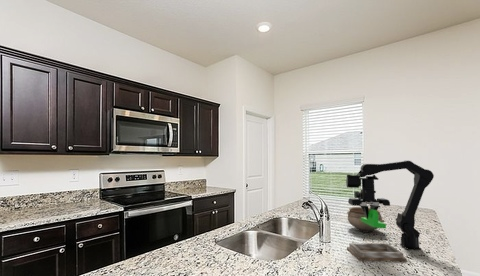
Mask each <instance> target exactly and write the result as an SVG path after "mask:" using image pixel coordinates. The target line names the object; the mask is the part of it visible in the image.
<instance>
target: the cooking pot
mask: <svg viewBox="0 0 480 276" xmlns="http://www.w3.org/2000/svg"><path fill="white" fill-rule="evenodd" d="M369 210H370V207H368V212H369ZM377 212H378V221H380V222H382V223H385V219H383V218H382V215H381V212H382V211H381V209H379V208H378V209H377ZM346 214H347V221H348V223H349V224H350V225H351V226H352V227H354V228H355V229H357V230H358V231H360V232H363V233H370V232H373V231H375V230H377V229H379V228H375V227H372V226H370V225H368V224H366V223H364V222H362V221H361V217H364V218H366V216H365V214H364V211H363V209H362V208H361V206H351V207H348V211H347V213H346Z"/></svg>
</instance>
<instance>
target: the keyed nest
mask: <svg viewBox="0 0 480 276" xmlns="http://www.w3.org/2000/svg"><path fill="white" fill-rule="evenodd" d="M346 250H347V251H348V252H349V253H350V254H351V255H353V256H354V257H355V258H356V259H357V261H368V262H369V261H371V262H372V261H377V262H379V261H382V262H390V261H391V262H408V258H406V257H405V256H404V253H403V252H402V251H400V250H398V249H397V248H395V247H394V246H392V245H391V244H389V243H380V242H379V243H377V242H375V243H373V242H372V243H369V242H368V243H366V242H361V243H359V242H358V243H356V242H349V244H348V246H347V247H346Z"/></svg>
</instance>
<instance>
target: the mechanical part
mask: <svg viewBox="0 0 480 276" xmlns="http://www.w3.org/2000/svg"><path fill="white" fill-rule="evenodd" d="M361 221H362V222H364V223H366V224H368V225H370V226H372V227H375V228H378V229H387V224H386V223H385V222H383V223H382V222H380V221H378V212H377V210H373V209H370V210H369V212H368V219H366V218H364V217H361Z"/></svg>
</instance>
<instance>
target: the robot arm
mask: <svg viewBox="0 0 480 276" xmlns="http://www.w3.org/2000/svg"><path fill="white" fill-rule="evenodd" d="M396 170H407V171H408V172H410V173H411V174H412V175H413V187H412V190H411V192H410V195H409V197H408V200H407V203H406V206H405V208H404V210H403V212H401V213H399V212H398V213H397V217H396V218H395V221H396V222H395V224H396V226H397V228H399V229H400V231H401V232H402V233H401V236H400V246H401V247H403V248H405V249H406V250H422V248H421V247H420V241H419V240H420V234H421V233H420V231H418V230H417V229H416V228H415V223H416V219H415V215H416V213H417V210H418V207H419V206H420V202H421V200H422V196H423V194H424V192H425V190H426V188H427V187H428V186H429V185H430V184H431V182H432V181H433V179H434V176H435V175H434V173H433V172H432V171H431V170H429V169H425V168H423V167H422V166H420V165H418V164H416V163H414V162H413V161H412V160H403V161H395V162H388V163H386V162H385V163H378V164H377V163H363V164H362V165H361V166H360V170H359V172H357V174H346V181H345V185H346V188H350V189H352V188H353V189H355V188H356V189H359V188H360V187H362V188H361V189H360V192H359V191H354V192H353V196H354V197H353V198H351V197H349V198H348V203H347V204H349V205H351V206H353V207H361V208H362V209H363V211H364V214H365V216H366V219H368V208H370V209H373V210H377V209H378V210H379V208H381V205H383V206H384V207H385V206H386V207H387V206H389V207H390V206H391V202H390V200H389V199H387V198H383V197H382V198H379V197H377V198H376V195H375V194H377V193H376V192H377V191H376V190H375V180H377V181H378V180H379V178H378V177H377V176H376V174H379V173H382V172H389V171H396ZM367 204H368V205H367Z"/></svg>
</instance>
